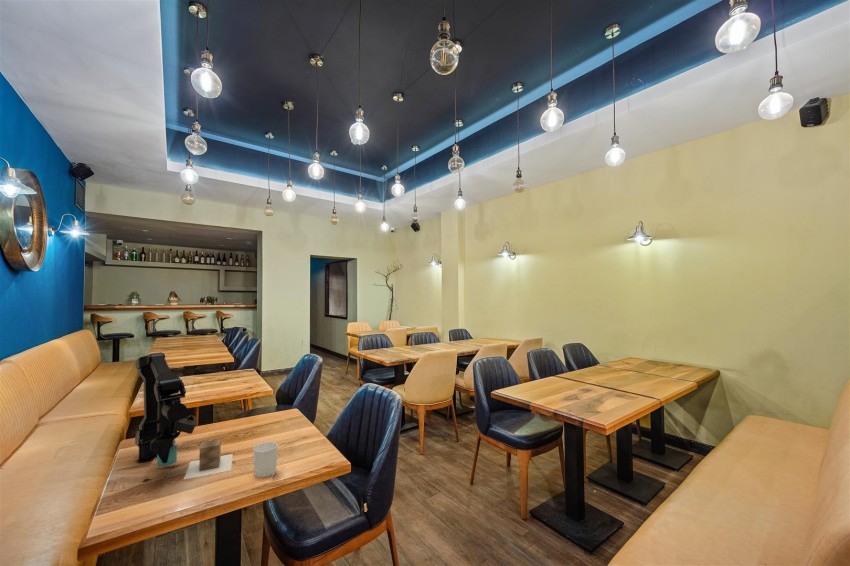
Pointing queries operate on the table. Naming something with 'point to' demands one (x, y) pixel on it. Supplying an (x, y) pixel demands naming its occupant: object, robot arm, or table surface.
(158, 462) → the teal cylinder
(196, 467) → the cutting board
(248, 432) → the table surface
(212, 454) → the tower top
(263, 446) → the white cup
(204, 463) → the block
